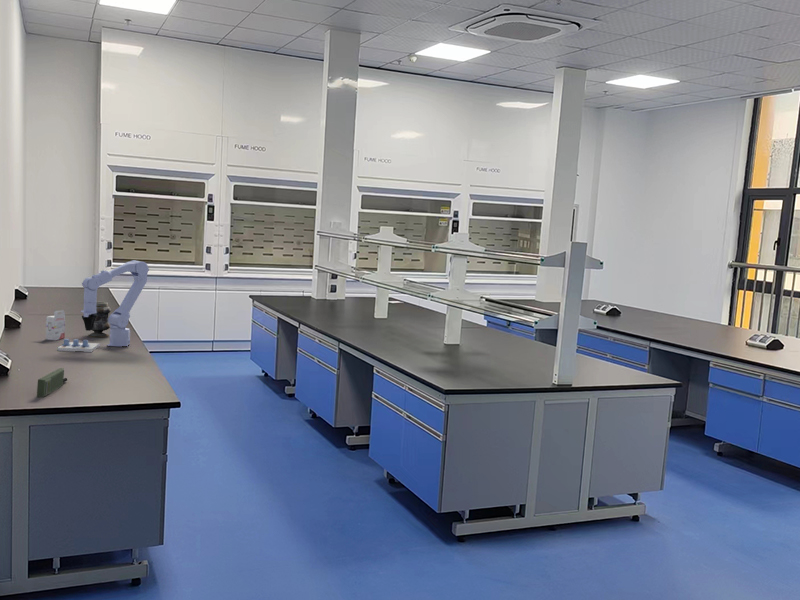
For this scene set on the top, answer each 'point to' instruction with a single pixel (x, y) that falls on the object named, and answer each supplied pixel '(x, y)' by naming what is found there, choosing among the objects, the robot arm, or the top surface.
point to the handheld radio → (50, 382)
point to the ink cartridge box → (55, 326)
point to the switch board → (79, 347)
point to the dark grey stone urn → (101, 320)
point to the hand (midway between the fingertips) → (89, 330)
